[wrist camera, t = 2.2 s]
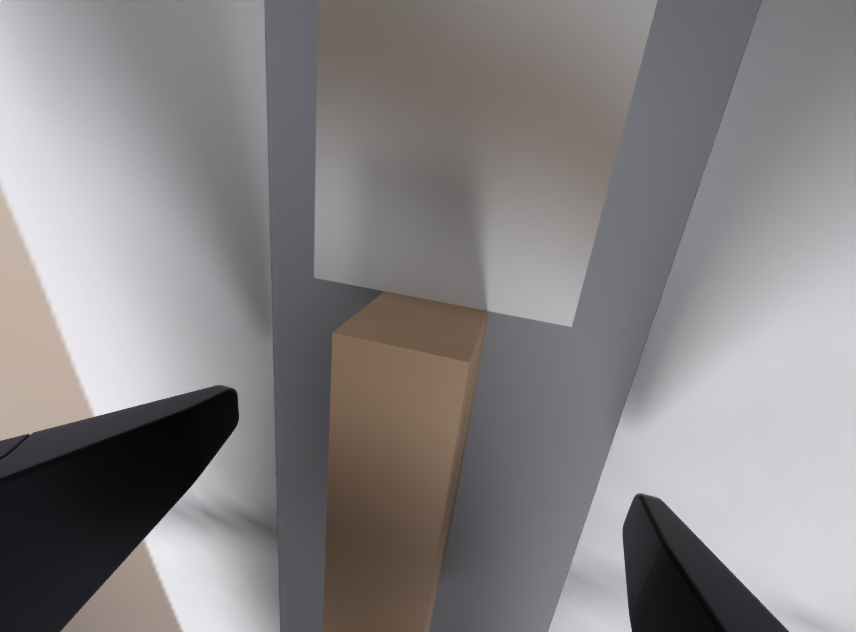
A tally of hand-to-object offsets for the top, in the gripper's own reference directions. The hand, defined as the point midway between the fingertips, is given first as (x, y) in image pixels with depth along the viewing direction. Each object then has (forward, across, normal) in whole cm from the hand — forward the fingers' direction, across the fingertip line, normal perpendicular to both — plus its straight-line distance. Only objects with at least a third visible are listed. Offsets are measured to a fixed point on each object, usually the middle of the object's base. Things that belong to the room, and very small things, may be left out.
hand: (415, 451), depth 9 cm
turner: (+1, 0, -2) cm, 2 cm away
